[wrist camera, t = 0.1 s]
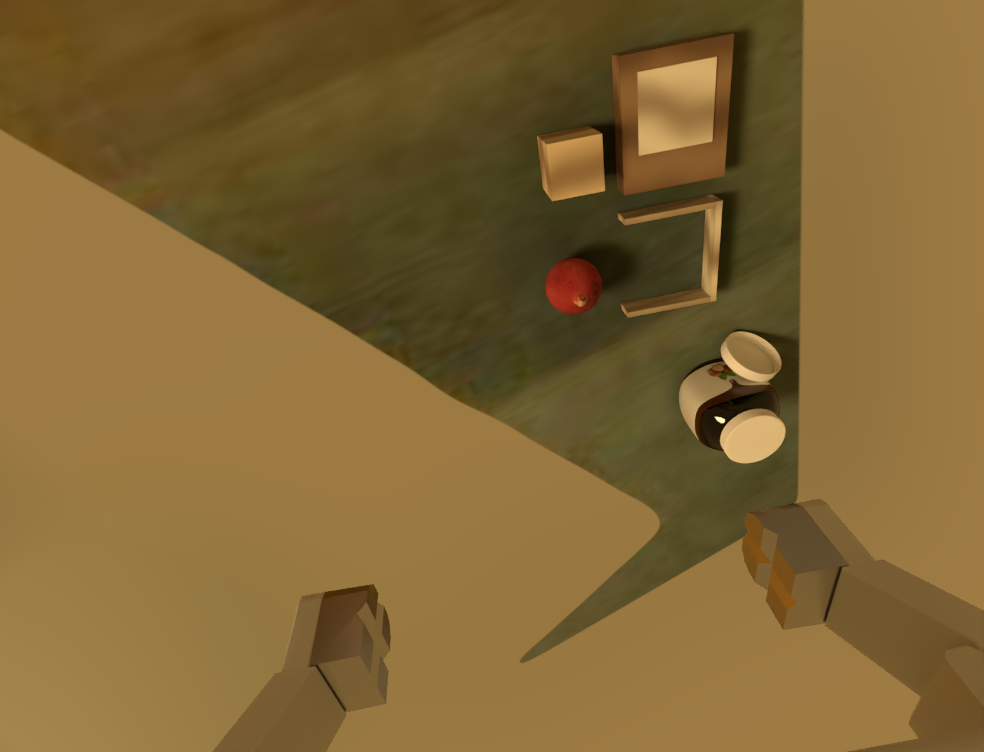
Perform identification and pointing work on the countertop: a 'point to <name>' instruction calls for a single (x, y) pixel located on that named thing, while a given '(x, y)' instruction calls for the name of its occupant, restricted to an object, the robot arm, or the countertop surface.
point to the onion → (573, 286)
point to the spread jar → (736, 400)
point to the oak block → (572, 162)
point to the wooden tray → (674, 140)
